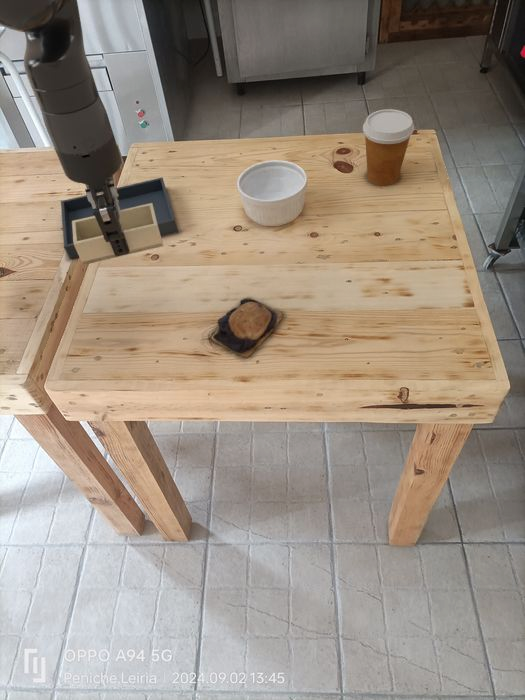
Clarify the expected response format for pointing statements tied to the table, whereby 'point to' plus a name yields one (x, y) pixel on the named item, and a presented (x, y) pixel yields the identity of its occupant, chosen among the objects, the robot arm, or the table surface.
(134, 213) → the beige open box
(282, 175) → the ramekin
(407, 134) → the disposable coffee cup
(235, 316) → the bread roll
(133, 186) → the tray
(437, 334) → the table surface
